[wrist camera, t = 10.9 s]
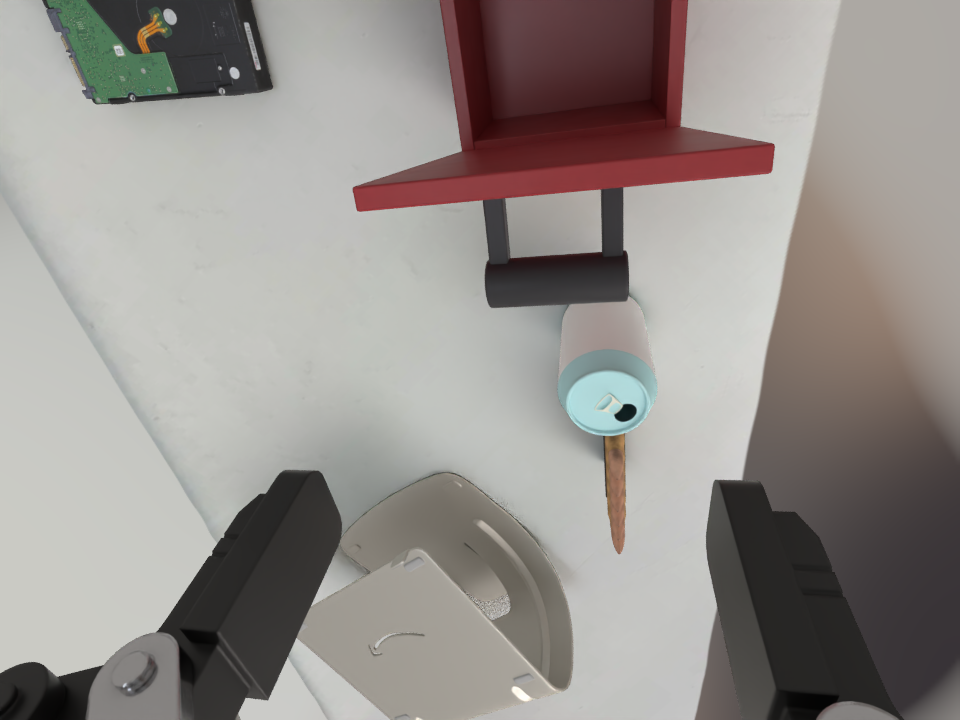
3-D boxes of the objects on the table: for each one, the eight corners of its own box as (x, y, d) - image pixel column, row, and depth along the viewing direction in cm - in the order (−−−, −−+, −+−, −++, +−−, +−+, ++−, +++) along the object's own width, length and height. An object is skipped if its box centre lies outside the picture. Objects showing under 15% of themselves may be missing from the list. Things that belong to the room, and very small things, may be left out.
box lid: (350, 187, 17) (380, 329, 19) (776, 143, 14) (757, 314, 16) (460, 151, 32) (470, 234, 34) (681, 126, 29) (678, 218, 31)
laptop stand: (447, 625, 78) (420, 745, 65) (321, 539, 71) (264, 653, 59) (581, 567, 66) (580, 701, 53) (443, 455, 59) (404, 578, 46)
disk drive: (232, -86, 35) (45, -56, 37) (207, -93, 32) (10, -60, 35) (278, 88, 40) (113, 104, 43) (260, 93, 38) (87, 109, 41)
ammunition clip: (622, 462, 55) (630, 561, 45) (604, 462, 55) (608, 560, 46) (621, 379, 49) (629, 471, 40) (601, 380, 50) (604, 470, 40)
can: (644, 283, 44) (661, 361, 34) (643, 354, 48) (658, 443, 38) (559, 288, 45) (552, 365, 36) (564, 356, 49) (559, 443, 39)
